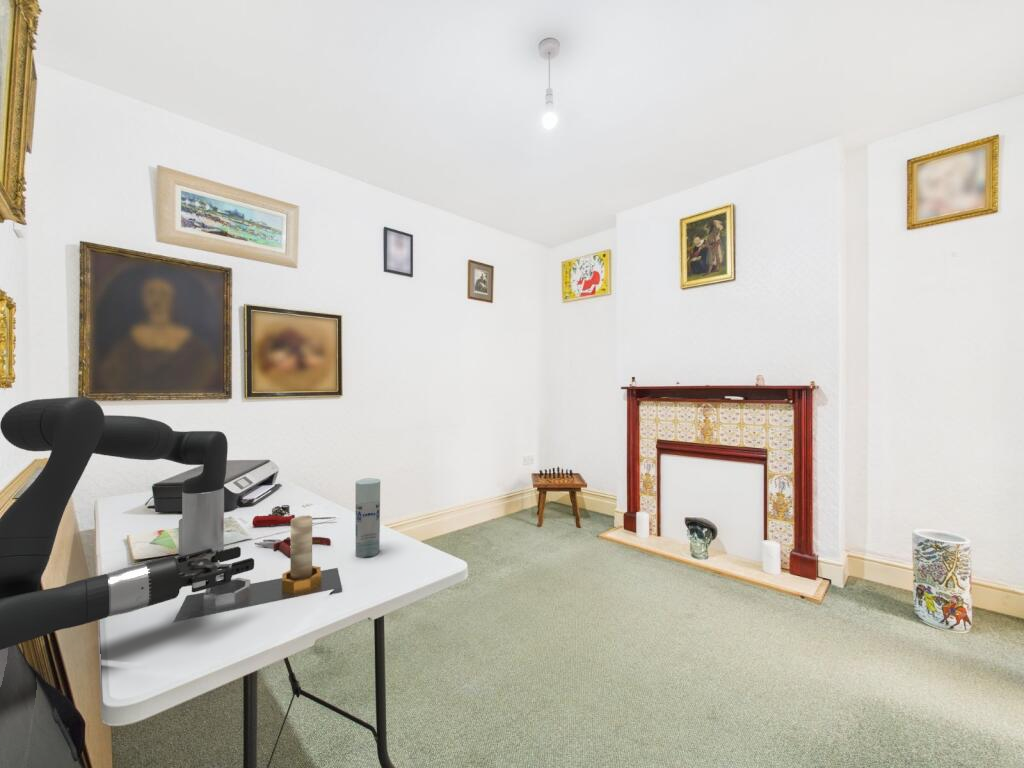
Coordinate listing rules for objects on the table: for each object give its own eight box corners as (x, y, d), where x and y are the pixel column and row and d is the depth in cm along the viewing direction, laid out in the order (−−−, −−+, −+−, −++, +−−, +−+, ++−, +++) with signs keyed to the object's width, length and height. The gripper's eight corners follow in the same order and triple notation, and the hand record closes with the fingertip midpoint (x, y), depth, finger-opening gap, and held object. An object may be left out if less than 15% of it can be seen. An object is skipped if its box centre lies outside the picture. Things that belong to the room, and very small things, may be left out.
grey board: (173, 627, 79) (173, 608, 79) (186, 600, 89) (186, 584, 89) (341, 591, 93) (342, 576, 93) (337, 571, 103) (337, 557, 103)
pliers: (274, 539, 125) (274, 530, 125) (332, 545, 121) (332, 536, 121) (241, 554, 114) (241, 544, 114) (304, 562, 110) (304, 552, 110)
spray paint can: (354, 550, 116) (354, 479, 116) (378, 547, 119) (378, 477, 119) (355, 560, 110) (356, 484, 110) (381, 555, 113) (382, 482, 113)
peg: (286, 588, 93) (286, 521, 92) (298, 579, 97) (298, 515, 97) (304, 589, 92) (304, 522, 92) (316, 580, 96) (316, 516, 96)
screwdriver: (334, 524, 137) (334, 514, 137) (251, 528, 133) (251, 517, 133) (336, 521, 141) (336, 510, 141) (256, 525, 136) (256, 514, 136)
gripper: (150, 577, 69) (258, 548, 82) (137, 553, 79) (236, 530, 91) (150, 621, 69) (258, 586, 82) (136, 592, 79) (235, 564, 91)
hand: (246, 557), depth 86 cm, fingers open, 8 cm apart
